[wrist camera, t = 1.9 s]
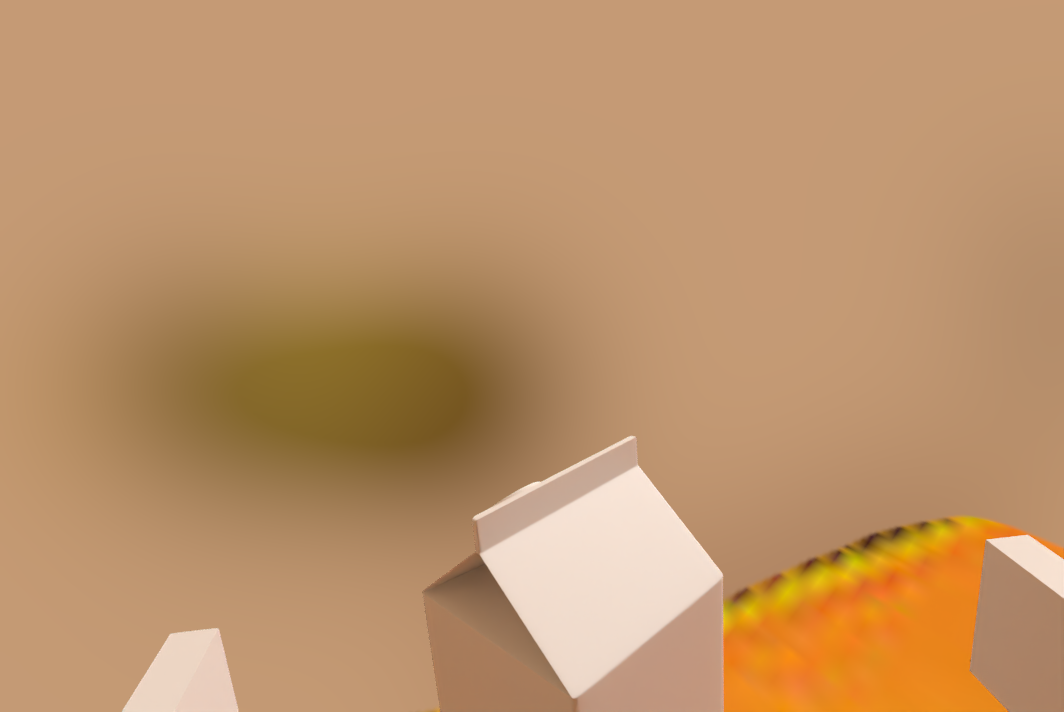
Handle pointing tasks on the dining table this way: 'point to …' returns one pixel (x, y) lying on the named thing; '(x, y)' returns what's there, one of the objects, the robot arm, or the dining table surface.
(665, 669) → the milk carton
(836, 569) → the dining table surface
